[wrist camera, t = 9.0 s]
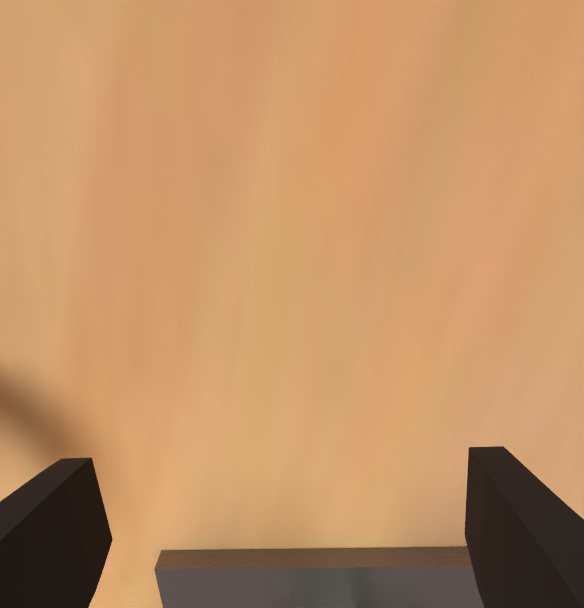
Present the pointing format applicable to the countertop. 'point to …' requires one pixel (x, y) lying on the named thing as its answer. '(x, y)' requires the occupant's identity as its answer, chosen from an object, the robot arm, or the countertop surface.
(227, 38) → the countertop surface
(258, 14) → the countertop surface
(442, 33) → the countertop surface
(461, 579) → the standoff plate
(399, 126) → the countertop surface
